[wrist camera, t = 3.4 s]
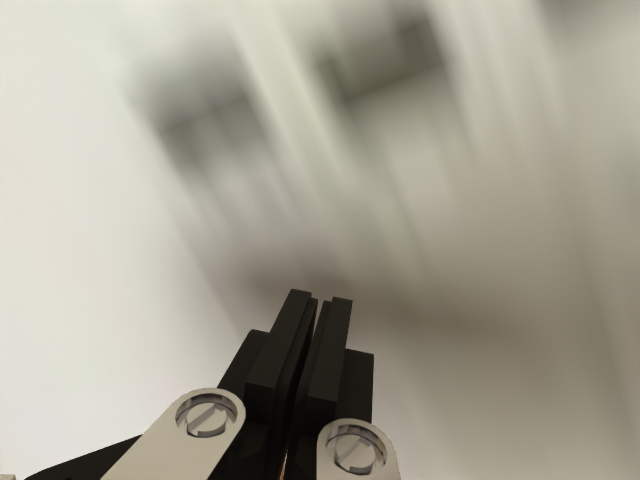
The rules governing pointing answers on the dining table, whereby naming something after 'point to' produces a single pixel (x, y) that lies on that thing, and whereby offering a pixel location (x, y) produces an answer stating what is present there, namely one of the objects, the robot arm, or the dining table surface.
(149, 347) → the dining table surface
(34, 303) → the dining table surface
